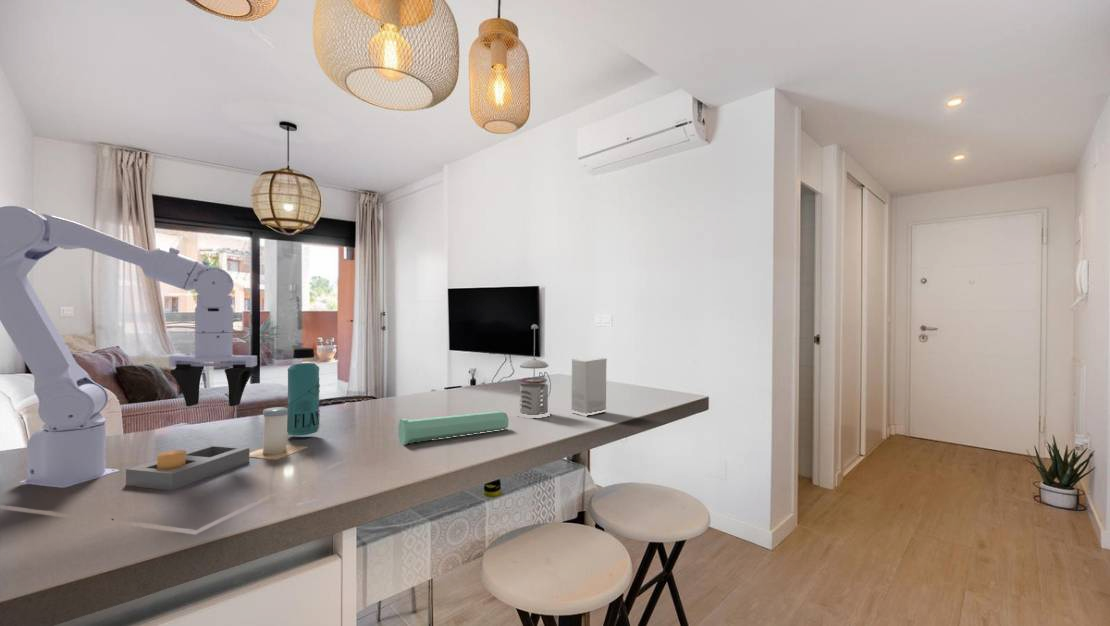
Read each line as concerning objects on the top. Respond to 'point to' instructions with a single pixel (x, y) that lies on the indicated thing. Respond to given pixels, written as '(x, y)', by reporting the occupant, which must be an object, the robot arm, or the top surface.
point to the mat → (288, 451)
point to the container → (450, 426)
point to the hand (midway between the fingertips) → (213, 405)
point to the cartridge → (274, 430)
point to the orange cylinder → (171, 459)
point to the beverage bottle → (303, 395)
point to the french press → (534, 387)
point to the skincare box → (588, 384)
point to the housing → (188, 467)
